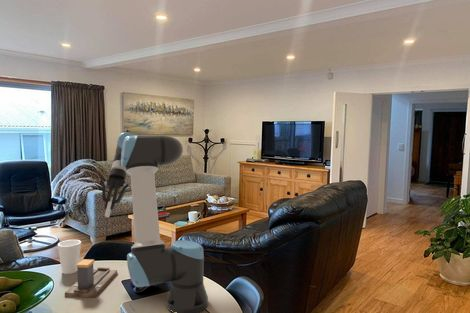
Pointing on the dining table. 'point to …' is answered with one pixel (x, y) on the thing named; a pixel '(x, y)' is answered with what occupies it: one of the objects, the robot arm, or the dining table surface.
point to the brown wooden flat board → (100, 281)
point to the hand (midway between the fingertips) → (107, 215)
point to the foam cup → (69, 255)
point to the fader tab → (85, 274)
